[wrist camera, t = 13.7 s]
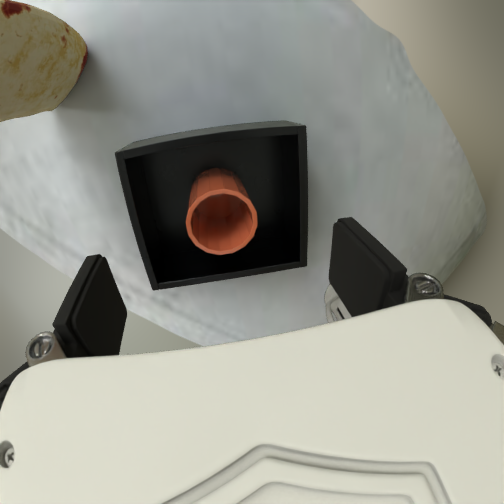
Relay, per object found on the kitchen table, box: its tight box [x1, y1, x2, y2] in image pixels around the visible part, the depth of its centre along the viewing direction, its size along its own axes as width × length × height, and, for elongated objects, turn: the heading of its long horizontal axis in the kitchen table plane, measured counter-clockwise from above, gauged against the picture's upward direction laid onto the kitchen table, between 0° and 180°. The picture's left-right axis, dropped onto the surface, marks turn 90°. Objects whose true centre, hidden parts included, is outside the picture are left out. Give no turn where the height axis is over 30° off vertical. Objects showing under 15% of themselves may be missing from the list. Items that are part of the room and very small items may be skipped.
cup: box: [186, 168, 258, 255], centre depth 27 cm, size 6×6×8 cm
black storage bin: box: [115, 121, 308, 290], centre depth 28 cm, size 17×15×7 cm
